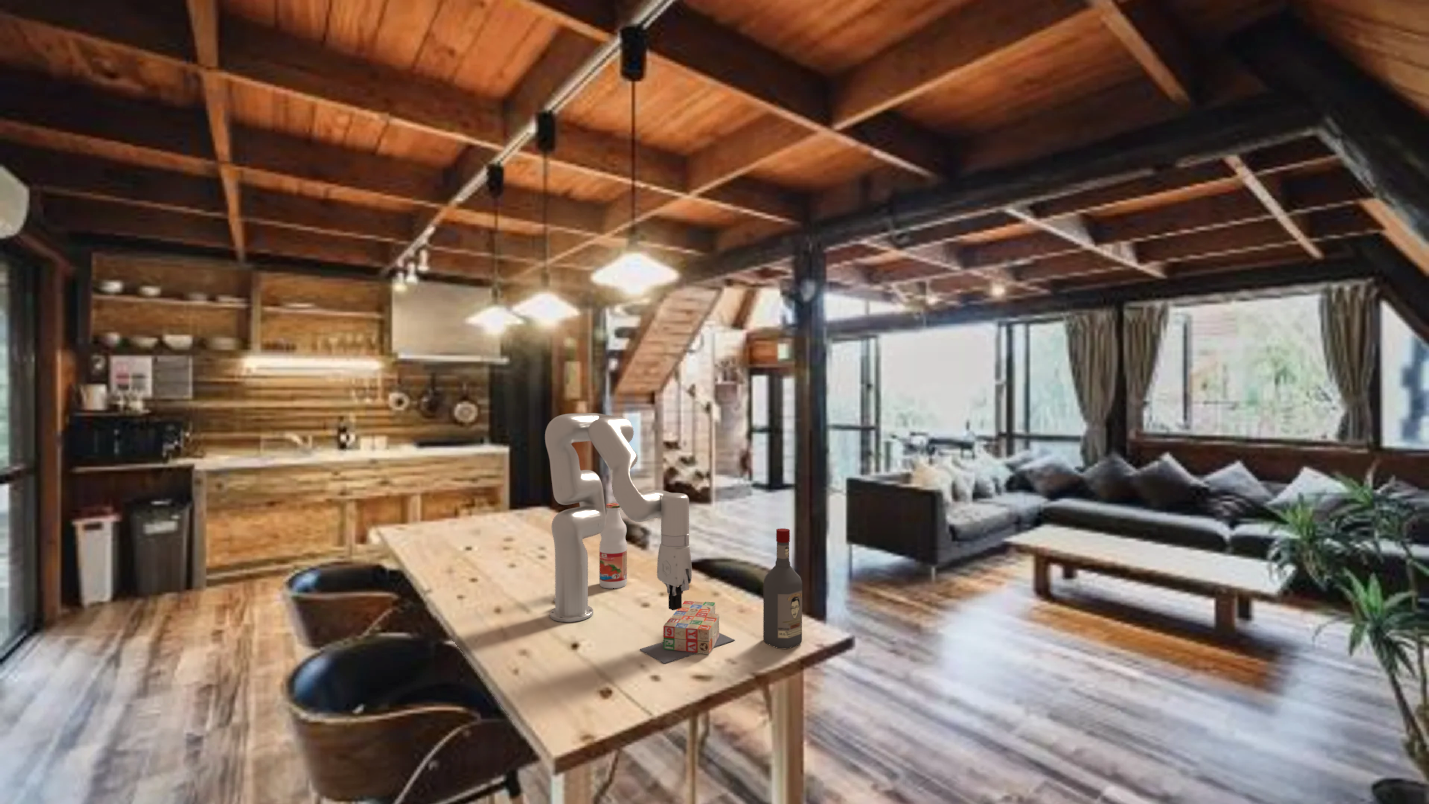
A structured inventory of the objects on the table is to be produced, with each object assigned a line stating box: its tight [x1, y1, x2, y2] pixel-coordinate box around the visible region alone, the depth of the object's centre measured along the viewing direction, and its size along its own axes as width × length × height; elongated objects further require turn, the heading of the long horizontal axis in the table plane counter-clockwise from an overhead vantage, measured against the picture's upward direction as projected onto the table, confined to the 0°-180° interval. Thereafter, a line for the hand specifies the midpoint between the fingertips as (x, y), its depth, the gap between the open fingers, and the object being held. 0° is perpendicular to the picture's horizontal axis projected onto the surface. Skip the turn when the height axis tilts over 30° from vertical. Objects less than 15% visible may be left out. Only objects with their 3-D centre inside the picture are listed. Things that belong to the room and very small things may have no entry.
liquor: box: [762, 527, 803, 649], centre depth 170 cm, size 9×9×30 cm
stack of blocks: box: [662, 600, 720, 655], centre depth 173 cm, size 21×6×12 cm
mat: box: [639, 632, 736, 665], centre depth 168 cm, size 11×23×1 cm, turn 130°
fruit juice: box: [598, 502, 628, 589], centre depth 220 cm, size 9×9×28 cm
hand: (675, 608), depth 171 cm, fingers closed
